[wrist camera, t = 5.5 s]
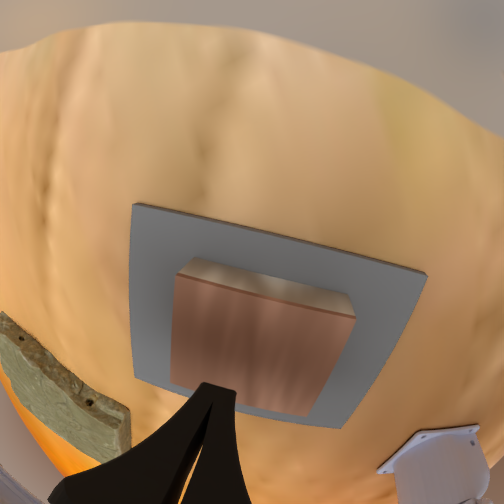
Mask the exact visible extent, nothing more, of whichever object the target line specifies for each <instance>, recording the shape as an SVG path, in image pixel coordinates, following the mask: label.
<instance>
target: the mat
mask: <svg viewBox="0 0 504 504" xmlns="http://www.w3.org/2000/svg"><path fill="white" fill-rule="evenodd" d="M193 257H197V258H200V259H204V260H208V261H212V262H216V263H220V264H224V265H228V266H232V267H236V268H240V269H244V270H248V271H252V272H256V273H260V274H264V275H268V276H272V277H276V278H280V279H284V280H289V281H293V282H297V283H301V284H305V285H310V286H314V287H318V288H322V289H327V290H331V291H335V292H340V293H344V294H348V296H349V298H350V301H351V304H352V307H353V310H354V313H355V316H356V319H357V320H356V322H355V325H354V327H353V329H352V331H351V333H350V336H349V338H348V340H347V342H346V344H345V346H344V348H343V350H342V353H341V355H340V357H339V359H338V361H337V363H336V365H335V367H334V369H333V370H332V372H331V374H330V376H329V378H328V380H327V382H326V384H325V386H324V387H323V389H322V391H321V393H320V395H319V396H318V398H317V400H316V402H315V403H314V405H313V407H312V409H311V410H310V412H309V414H308V415H307V417H304V416H298V415H291V414H286V413H280V412H275V411H270V410H265V409H260V408H256V407H251V406H247V405H243V404H239V403H235V411H237V412H241V413H245V414H250V415H254V416H259V417H263V418H268V419H273V420H279V421H284V422H290V423H296V424H303V425H310V426H318V427H327V428H337V429H341V428H342V427H343V425H344V424H345V423H346V421H347V420H348V419H349V417H350V416H351V415H352V413H353V412H354V410H355V409H356V408H357V406H358V405H359V403H360V402H361V401H362V399H363V398H364V396H365V395H366V393H367V392H368V390H369V389H370V387H371V386H372V384H373V382H374V381H375V379H376V378H377V376H378V374H379V373H380V371H381V370H382V368H383V366H384V365H385V363H386V361H387V359H388V358H389V356H390V354H391V352H392V351H393V349H394V347H395V345H396V343H397V342H398V340H399V338H400V336H401V334H402V332H403V330H404V328H405V326H406V324H407V322H408V320H409V318H410V316H411V314H412V312H413V310H414V308H415V305H416V303H417V301H418V299H419V297H420V294H421V292H422V290H423V287H424V285H425V282H426V280H427V278H428V276H427V275H426V274H425V273H424V272H421V271H417V270H414V269H410V268H406V267H403V266H399V265H395V264H392V263H388V262H384V261H381V260H377V259H373V258H369V257H366V256H362V255H358V254H354V253H350V252H347V251H343V250H339V249H335V248H331V247H327V246H323V245H319V244H315V243H311V242H307V241H303V240H299V239H295V238H291V237H287V236H283V235H279V234H274V233H270V232H266V231H262V230H258V229H254V228H249V227H245V226H241V225H236V224H232V223H228V222H223V221H219V220H215V219H210V218H206V217H201V216H197V215H192V214H188V213H183V212H178V211H174V210H169V209H164V208H160V207H155V206H150V205H146V204H141V203H135V204H132V216H131V231H130V254H129V308H130V330H131V345H132V357H133V367H134V376H135V378H137V379H140V380H142V381H145V382H147V383H150V384H152V385H155V386H157V387H160V388H163V389H165V390H168V391H171V392H174V393H177V394H179V395H182V396H185V397H188V398H190V397H191V396H192V395H193V393H194V392H195V391H193V390H190V389H187V388H184V387H181V386H178V385H175V384H172V383H170V357H171V332H172V314H173V299H174V286H175V275H176V274H177V273H178V272H179V271H180V270H181V269H182V268H183V267H184V266H185V265H186V264H187V263H188V262H189V261H190V260H191V259H192V258H193Z"/></svg>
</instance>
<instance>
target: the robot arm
mask: <svg viewBox="0 0 504 504" xmlns="http://www.w3.org/2000/svg"><path fill="white" fill-rule="evenodd" d="M236 395H237V392H236V391H235V390H232V389H228V388H224V387H221V386H217V385H213V384H210V383H207V382H202V383H201V384H200V385H199V387H198V388H197V389H196V391H195V392H194V393H193V395H192V396H191V397H190V398H189V400H188V401H187V402H186V403H185V404H184V405H183V406H182V407H181V408H180V409H179V410H178V411H177V412H176V413H175V414H174V415H173V416H172V417H171V418H170V419H169V420H168V421H167V422H166V423H165V424H164V425H162V426H161V427H160V428H159V429H158V430H157V431H155V432H154V433H153V434H152V435H150V436H149V437H148V438H146V439H145V440H144V441H142V442H141V443H139V444H138V445H136V446H135V447H133V448H131V449H130V450H128V451H127V452H125V453H123V454H121V455H120V456H118V457H116V458H114V459H112V460H110V461H108V462H106V463H103V464H101V465H99V466H97V467H94V468H92V469H89V470H86V471H83V472H80V473H77V474H74V475H71V476H67V477H65V478H64V479H63V480H62V481H61V482H60V483H59V484H58V485H57V486H56V487H55V488H54V490H53V491H52V493H51V495H50V496H49V498H48V499H47V500H48V502H49V503H50V504H178V502H179V499H180V496H181V493H182V490H183V487H184V485H185V482H186V480H187V477H188V475H189V473H190V471H191V469H192V466H193V464H194V462H195V460H196V458H197V456H198V454H199V452H200V449H201V447H202V450H201V453H200V456H199V459H198V461H197V464H196V466H195V469H194V472H193V474H192V477H191V479H190V482H189V484H188V487H187V489H186V492H185V494H184V497H183V499H182V502H181V504H252V503H251V501H250V498H249V495H248V492H247V489H246V486H245V482H244V479H243V475H242V471H241V466H240V461H239V456H238V450H237V443H236V432H235V401H236ZM479 428H480V426H479V425H473V426H466V427H459V428H451V429H442V430H430V431H420V432H417V433H416V434H415V435H414V436H413V437H412V438H411V439H410V440H409V441H408V442H407V443H406V444H405V445H404V446H403V447H402V448H401V449H400V450H399V451H398V452H397V453H395V454H394V455H393V456H392V457H391V458H390V459H389V460H388V461H387V462H386V463H384V464H383V465H382V466H381V467H380V468H379V469H377V474H386V473H394V476H395V482H396V489H397V496H398V504H493V502H492V500H491V499H486V498H482V499H480V498H481V497H482V495H483V494H484V493H485V491H486V489H487V487H488V484H489V479H490V472H489V467H488V464H487V462H486V459H485V456H484V454H483V451H482V448H481V446H480V443H479V441H478V438H477V436H476V434H475V433H476V432H477V431H478V430H479ZM202 445H203V446H202ZM0 504H44V503H43V502H42V501H40V500H39V499H38V498H37V497H35V496H34V495H33V494H32V493H31V492H29V491H28V490H27V489H26V488H25V487H23V486H22V485H21V484H20V483H19V482H18V481H17V480H15V479H14V478H13V477H12V476H11V475H10V474H9V473H8V472H7V471H6V470H5V469H4V468H3V467H2V465H1V464H0Z"/></svg>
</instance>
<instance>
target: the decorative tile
mask: <svg viewBox="0 0 504 504" xmlns="http://www.w3.org/2000/svg"><path fill="white" fill-rule="evenodd" d="M0 361H1V365H2V368H3V370H4V372H5V374H6V375H7V376H8V377H9V378H10V380H11V386H12V389H13V391H14V393H15V394H16V396H17V397H18V398H19V400H20V402H21V403H22V405H23V406H24V407H26V408H27V409H28V410H29V411H30V412H31V413H32V414H33V415H35V416H36V417H37V418H38V419H39V420H40V421H41V422H43V423H44V424H45V425H46V426H47V427H48V428H50V429H51V430H52V431H53V432H55V433H56V434H58V435H59V436H60V437H62V438H63V439H64V440H66V441H67V442H69V443H70V444H71V445H73V446H74V447H76V448H77V449H78V450H80V451H81V452H83V453H85V454H86V455H88V456H90V457H92V458H94V459H95V460H97V461H98V462H100V463H101V464H103V463H106V462H108V461H110V460H112V459H114V458H116V457H118V456H120V455H121V454H123V453H125V452H127V451H128V450H130V449H131V421H130V411H129V410H128V409H127V408H126V407H125V406H123V405H122V404H120V403H119V402H117V401H115V400H113V399H112V398H109V397H107V396H105V395H103V394H100V393H98V392H96V391H95V390H94V389H92V388H90V387H89V386H88V385H86V384H85V383H84V382H83V381H81V380H80V379H79V378H78V377H77V376H76V375H75V374H74V373H72V372H70V371H69V370H67V369H66V368H65V367H63V366H62V365H61V364H60V363H59V362H58V361H57V360H56V358H55V357H54V356H53V355H52V354H51V353H50V352H49V351H48V350H46V349H45V348H43V347H42V346H41V345H40V344H39V343H38V342H37V341H36V340H35V339H33V338H32V337H31V336H30V335H29V334H27V333H26V332H25V331H23V330H22V329H21V328H20V327H19V326H18V325H17V324H16V323H14V322H13V321H12V320H11V319H10V317H8V316H7V315H6V314H5V313H4V312H3V311H2V312H1V313H0Z"/></svg>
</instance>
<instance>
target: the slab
mask: <svg viewBox="0 0 504 504" xmlns="http://www.w3.org/2000/svg"><path fill="white" fill-rule="evenodd" d="M356 320H357V319H356V316H355V313H354V310H353V307H352V304H351V301H350V298H349V296H348V294H344V293H340V292H335V291H331V290H327V289H322V288H318V287H314V286H310V285H305V284H301V283H297V282H293V281H289V280H284V279H280V278H276V277H272V276H268V275H264V274H260V273H256V272H252V271H248V270H244V269H240V268H236V267H232V266H228V265H224V264H220V263H216V262H212V261H208V260H204V259H200V258H197V257H193V258H192V259H191V260H190V261H189V262H188V263H187V264H186V265H185V266H184V267H183V268H182V269H181V270H180V271H179V272H178V273H177V274H176V275H175V286H174V299H173V314H172V332H171V357H170V383H172V384H175V385H178V386H181V387H184V388H187V389H190V390H193V391H196V389H197V388H198V387H199V385H200V384H201V383H202V382H207V383H210V384H213V385H217V386H221V387H224V388H228V389H232V390H235V391H236V392H237V395H236V401H235V403H239V404H243V405H247V406H251V407H256V408H260V409H265V410H270V411H275V412H280V413H286V414H291V415H298V416H304V417H307V415H308V414H309V412H310V410H311V409H312V407H313V405H314V403H315V402H316V400H317V398H318V396H319V395H320V393H321V391H322V389H323V387H324V386H325V384H326V382H327V380H328V378H329V376H330V374H331V372H332V370H333V369H334V367H335V365H336V363H337V361H338V359H339V357H340V355H341V353H342V350H343V348H344V346H345V344H346V342H347V340H348V338H349V336H350V333H351V331H352V329H353V327H354V325H355V322H356Z"/></svg>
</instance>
